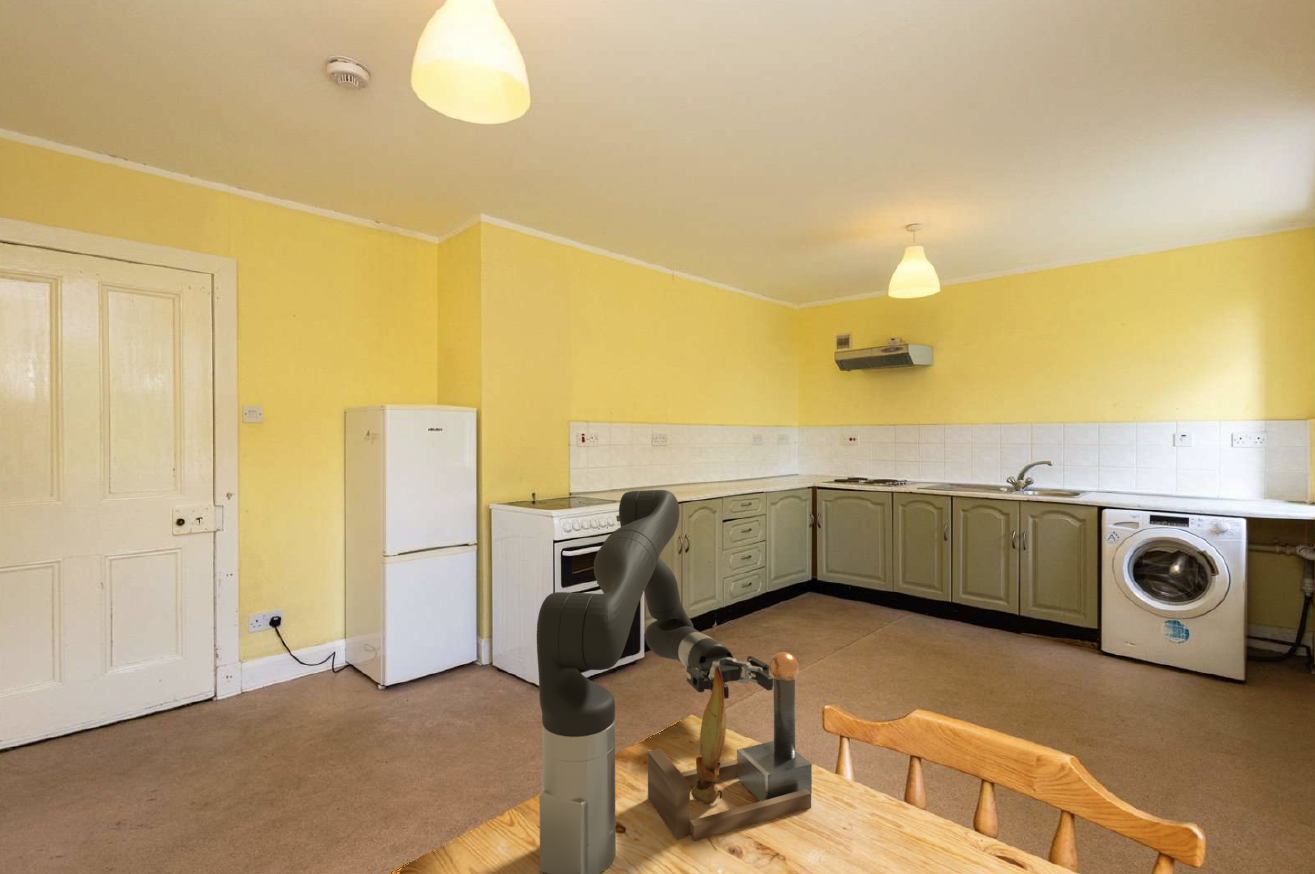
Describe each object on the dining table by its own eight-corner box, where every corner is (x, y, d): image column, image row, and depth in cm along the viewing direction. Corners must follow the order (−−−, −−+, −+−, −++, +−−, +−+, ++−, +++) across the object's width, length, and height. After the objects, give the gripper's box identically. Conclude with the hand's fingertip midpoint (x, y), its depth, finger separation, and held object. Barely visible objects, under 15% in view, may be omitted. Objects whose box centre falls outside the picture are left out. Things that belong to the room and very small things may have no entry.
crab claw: (728, 821, 86) (727, 676, 86) (691, 820, 86) (690, 676, 86) (725, 792, 93) (725, 658, 93) (691, 791, 93) (690, 658, 93)
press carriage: (765, 806, 88) (765, 667, 88) (737, 778, 96) (736, 650, 96) (812, 793, 91) (812, 659, 91) (781, 766, 99) (781, 643, 99)
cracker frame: (680, 845, 81) (680, 791, 81) (644, 794, 92) (644, 747, 92) (811, 807, 89) (811, 758, 89) (763, 765, 100) (763, 722, 100)
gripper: (670, 642, 116) (711, 672, 101) (736, 633, 121) (784, 660, 106) (670, 682, 116) (711, 719, 101) (737, 671, 121) (785, 703, 106)
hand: (749, 688), depth 104 cm, fingers open, 8 cm apart
